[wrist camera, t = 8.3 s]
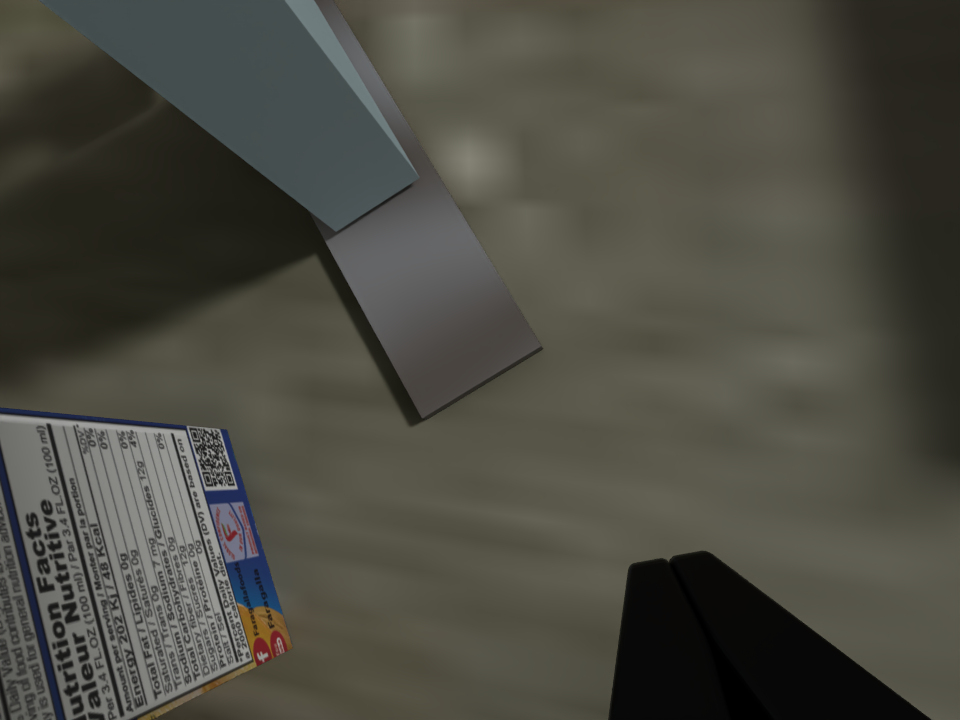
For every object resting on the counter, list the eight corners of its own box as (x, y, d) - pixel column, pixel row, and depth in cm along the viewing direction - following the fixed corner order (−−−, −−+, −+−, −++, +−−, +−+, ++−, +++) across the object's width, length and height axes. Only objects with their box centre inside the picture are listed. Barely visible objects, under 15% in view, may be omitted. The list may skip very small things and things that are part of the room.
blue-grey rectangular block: (419, 177, 23) (194, -118, 12) (329, 236, 23) (21, 6, 12) (315, 2, 25) (24, -414, 13) (232, 59, 25) (-124, -297, 13)
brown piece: (558, 340, 22) (449, 172, 10) (372, 452, 23) (49, 430, 10) (313, -62, 26) (3, -564, 13) (159, 45, 27) (-275, -336, 14)
